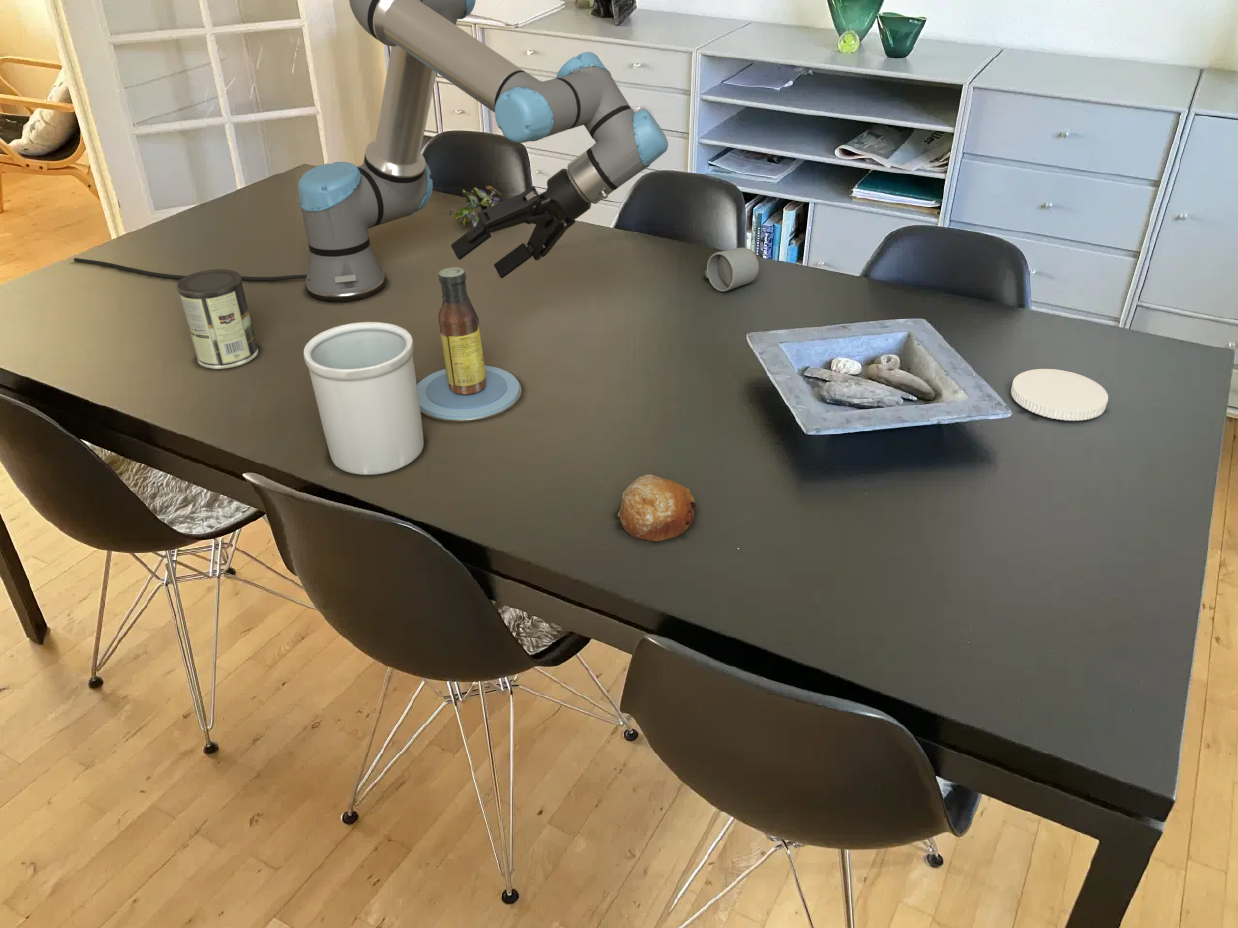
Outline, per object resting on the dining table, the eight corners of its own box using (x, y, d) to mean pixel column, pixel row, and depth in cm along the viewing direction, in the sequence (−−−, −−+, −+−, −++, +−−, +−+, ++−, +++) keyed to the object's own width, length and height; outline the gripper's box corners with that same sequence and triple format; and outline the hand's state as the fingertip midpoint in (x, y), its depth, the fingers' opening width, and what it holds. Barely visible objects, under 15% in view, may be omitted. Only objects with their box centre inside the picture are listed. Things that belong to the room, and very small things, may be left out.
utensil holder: (378, 489, 138) (359, 379, 128) (303, 459, 145) (280, 352, 135) (447, 441, 148) (434, 336, 139) (374, 416, 155) (357, 313, 145)
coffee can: (226, 338, 179) (208, 265, 171) (271, 349, 175) (254, 274, 167) (183, 362, 171) (162, 286, 163) (229, 374, 167) (209, 296, 160)
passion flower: (496, 245, 231) (523, 207, 224) (468, 252, 222) (495, 213, 216) (465, 211, 232) (490, 172, 226) (436, 217, 223) (461, 176, 217)
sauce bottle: (494, 384, 161) (484, 269, 150) (470, 400, 156) (457, 283, 145) (463, 374, 164) (451, 260, 153) (438, 390, 159) (424, 274, 148)
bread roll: (629, 520, 137) (603, 478, 133) (696, 490, 136) (672, 447, 131) (636, 565, 129) (609, 522, 125) (707, 534, 127) (682, 489, 123)
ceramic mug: (761, 285, 196) (763, 248, 192) (732, 296, 192) (733, 259, 188) (723, 271, 203) (724, 235, 199) (694, 281, 199) (695, 244, 195)
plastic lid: (1059, 435, 149) (1063, 420, 147) (990, 394, 159) (993, 381, 158) (1123, 412, 154) (1128, 398, 152) (1053, 375, 164) (1056, 361, 163)
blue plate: (390, 409, 157) (389, 402, 156) (449, 361, 170) (448, 355, 170) (487, 431, 151) (487, 424, 150) (540, 380, 164) (539, 373, 164)
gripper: (554, 181, 144) (445, 263, 151) (620, 226, 167) (522, 296, 174) (532, 140, 146) (425, 223, 153) (600, 191, 169) (504, 261, 176)
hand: (477, 262), depth 163 cm, fingers open, 13 cm apart
